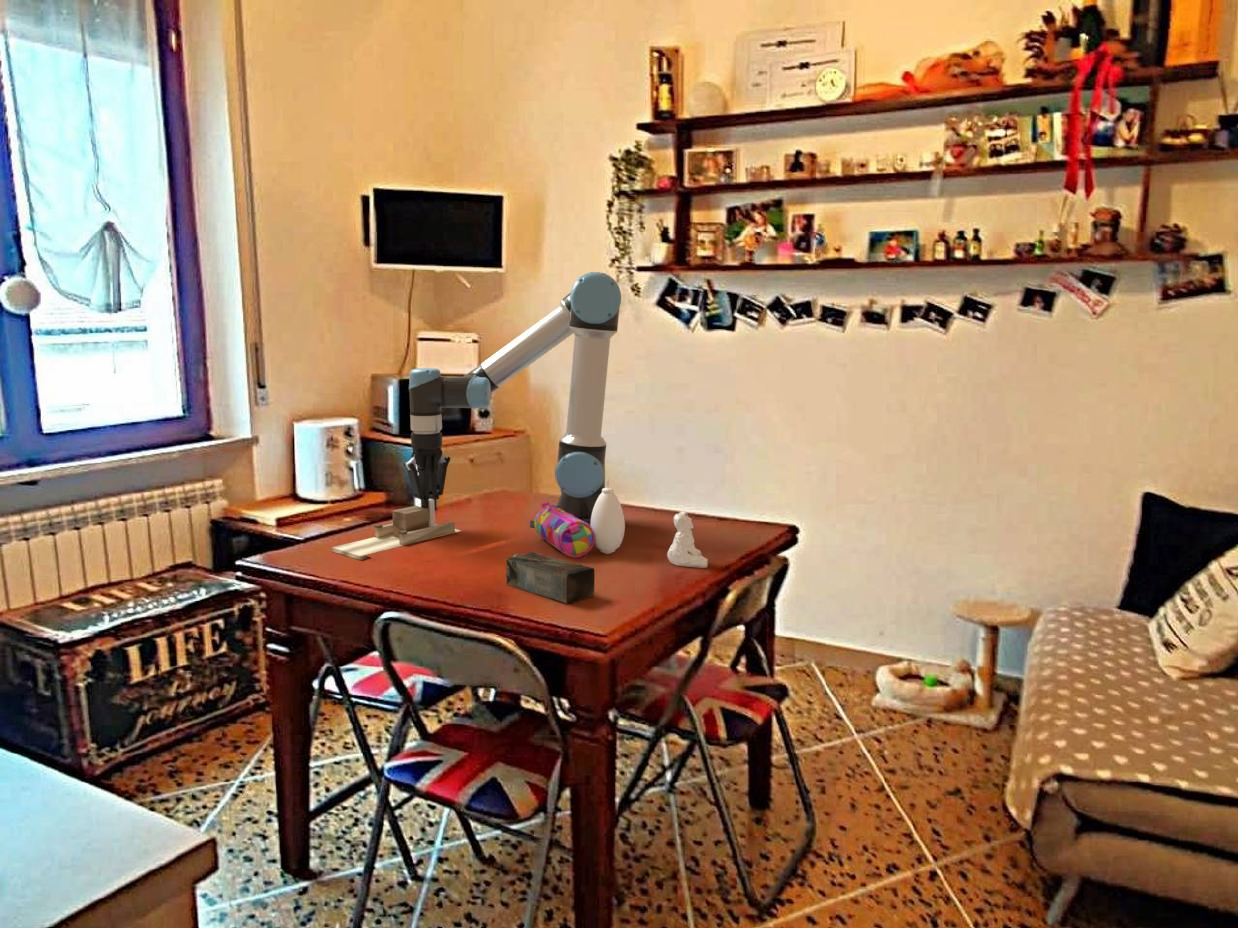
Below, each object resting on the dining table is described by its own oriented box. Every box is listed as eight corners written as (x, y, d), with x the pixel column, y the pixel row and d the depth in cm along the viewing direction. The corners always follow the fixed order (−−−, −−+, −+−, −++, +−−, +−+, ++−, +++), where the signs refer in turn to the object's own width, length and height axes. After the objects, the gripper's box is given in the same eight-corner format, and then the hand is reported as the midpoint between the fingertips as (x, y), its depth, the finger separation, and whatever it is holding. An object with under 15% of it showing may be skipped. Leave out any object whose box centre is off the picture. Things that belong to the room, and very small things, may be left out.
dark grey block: (533, 577, 204) (533, 547, 202) (597, 597, 191) (597, 565, 189) (505, 585, 198) (504, 554, 197) (568, 606, 185) (567, 574, 184)
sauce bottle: (604, 546, 227) (604, 472, 224) (630, 551, 223) (631, 476, 219) (584, 553, 221) (583, 478, 217) (611, 559, 216) (611, 482, 213)
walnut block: (429, 534, 234) (428, 508, 233) (406, 540, 229) (404, 513, 228) (416, 531, 237) (415, 505, 236) (393, 536, 232) (392, 510, 231)
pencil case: (528, 539, 234) (528, 503, 233) (564, 535, 238) (563, 500, 237) (560, 561, 215) (560, 523, 213) (598, 557, 219) (598, 519, 217)
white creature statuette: (709, 568, 210) (710, 515, 207) (671, 570, 208) (672, 517, 206) (699, 556, 219) (700, 506, 217) (662, 558, 217) (663, 507, 215)
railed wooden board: (461, 534, 238) (461, 518, 237) (360, 560, 215) (359, 542, 214) (432, 527, 245) (432, 511, 244) (331, 551, 222) (330, 534, 222)
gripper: (437, 427, 240) (440, 517, 244) (395, 432, 230) (399, 526, 235) (456, 430, 235) (459, 522, 240) (414, 436, 226) (417, 532, 230)
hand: (429, 524), depth 237 cm, fingers closed
